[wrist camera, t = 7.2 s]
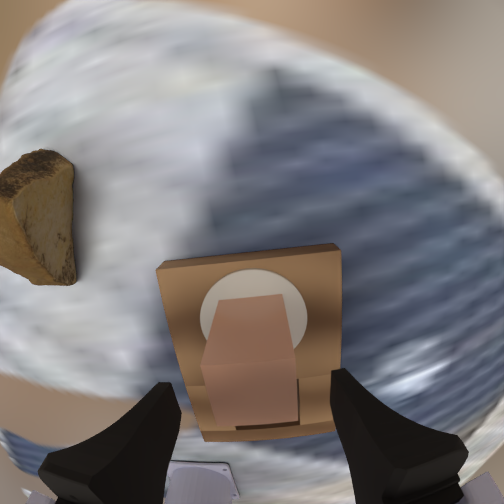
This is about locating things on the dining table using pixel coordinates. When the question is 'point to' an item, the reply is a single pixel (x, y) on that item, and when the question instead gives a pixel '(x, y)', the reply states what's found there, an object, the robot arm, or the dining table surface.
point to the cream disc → (254, 285)
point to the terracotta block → (251, 363)
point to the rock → (38, 218)
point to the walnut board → (306, 352)
